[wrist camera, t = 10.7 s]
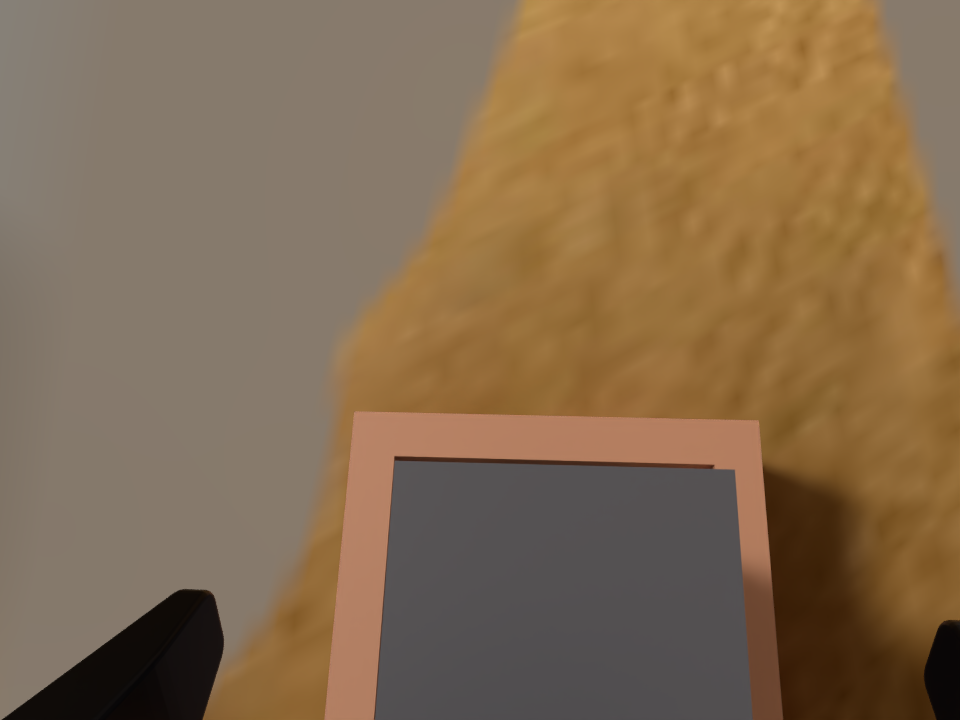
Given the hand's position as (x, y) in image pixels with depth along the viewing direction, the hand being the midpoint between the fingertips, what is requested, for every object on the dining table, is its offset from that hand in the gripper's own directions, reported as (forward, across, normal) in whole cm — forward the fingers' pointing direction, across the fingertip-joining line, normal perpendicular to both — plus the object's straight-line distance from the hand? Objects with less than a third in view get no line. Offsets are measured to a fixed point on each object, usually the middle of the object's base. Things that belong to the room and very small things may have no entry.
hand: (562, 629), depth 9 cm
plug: (+7, 0, +7) cm, 10 cm away
